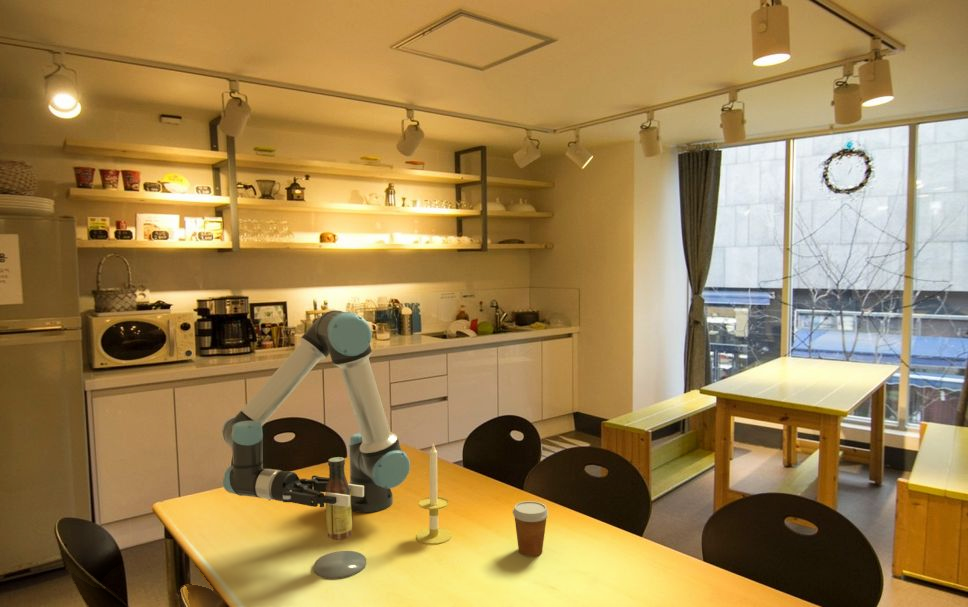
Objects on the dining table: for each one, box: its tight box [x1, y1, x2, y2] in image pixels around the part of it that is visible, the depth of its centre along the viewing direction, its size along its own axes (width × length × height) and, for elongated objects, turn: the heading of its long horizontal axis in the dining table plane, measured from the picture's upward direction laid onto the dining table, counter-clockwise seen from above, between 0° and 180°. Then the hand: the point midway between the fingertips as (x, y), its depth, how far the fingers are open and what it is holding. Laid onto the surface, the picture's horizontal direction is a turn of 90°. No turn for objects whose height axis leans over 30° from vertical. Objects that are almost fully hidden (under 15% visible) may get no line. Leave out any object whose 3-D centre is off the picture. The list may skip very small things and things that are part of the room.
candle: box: [416, 442, 452, 546], centre depth 170 cm, size 10×10×27 cm
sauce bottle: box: [325, 456, 353, 541], centre depth 153 cm, size 7×6×20 cm
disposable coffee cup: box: [512, 500, 550, 557], centre depth 161 cm, size 10×10×12 cm
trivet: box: [313, 550, 367, 580], centre depth 154 cm, size 13×13×1 cm
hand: (356, 496), depth 151 cm, fingers closed on sauce bottle, 6 cm apart
